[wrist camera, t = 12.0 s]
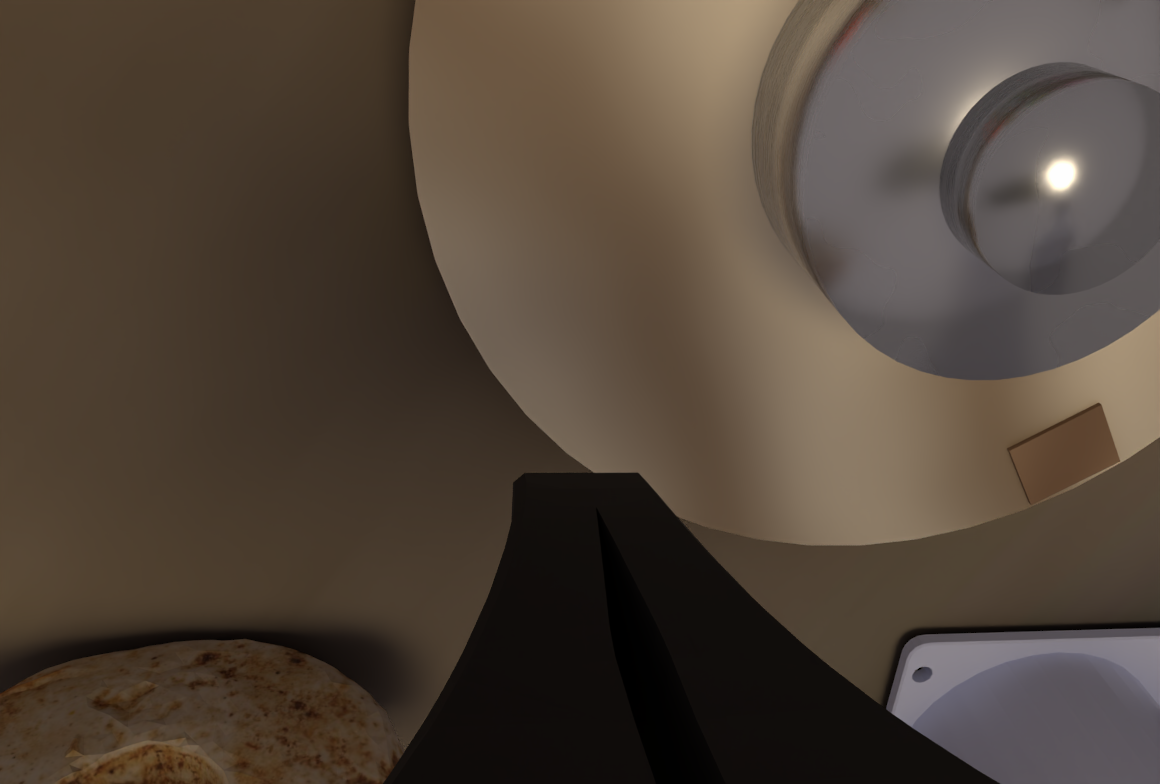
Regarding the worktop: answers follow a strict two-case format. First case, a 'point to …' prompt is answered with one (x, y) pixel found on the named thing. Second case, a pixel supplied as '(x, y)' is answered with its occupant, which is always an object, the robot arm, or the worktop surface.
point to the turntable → (707, 288)
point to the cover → (969, 174)
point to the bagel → (195, 720)
